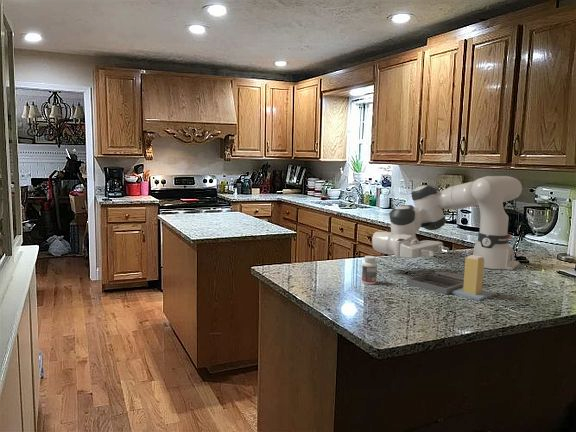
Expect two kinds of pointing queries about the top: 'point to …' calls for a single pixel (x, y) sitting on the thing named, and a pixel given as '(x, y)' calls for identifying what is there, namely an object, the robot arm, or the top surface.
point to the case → (439, 277)
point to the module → (473, 274)
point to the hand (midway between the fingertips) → (441, 252)
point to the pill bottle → (369, 270)
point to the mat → (472, 296)
